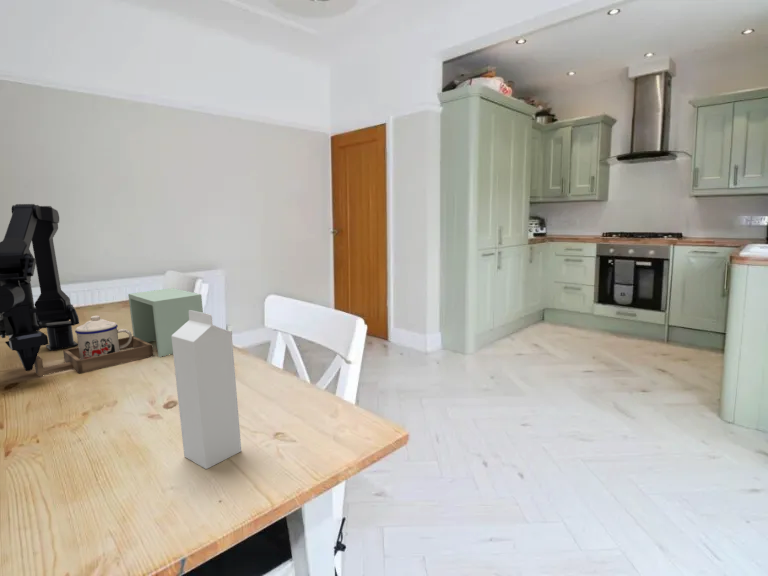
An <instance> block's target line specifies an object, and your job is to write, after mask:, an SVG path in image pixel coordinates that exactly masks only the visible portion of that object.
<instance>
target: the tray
mask: <svg viewBox="0 0 768 576" xmlns="http://www.w3.org/2000/svg"><path fill="white" fill-rule="evenodd" d="M128 339H129V336H127V337H121V338H118V341H119V346H120V345H124V344H126V343H127V341H128ZM62 353H63V359H64V360H63V361H64V362H63V363H58V364H54V365H50V366H49V365H48V366H45V367H44V360H43V358H41V357H40V356H39V355H37V357H36V360H35V363H34V366H33V367H34V371H35V374H36V373H37V374H38V375H39V376H41V377H44V376H43V375H45V374H47V375H50V374H49V373H51V374H54V372H55V373H59V371H60V372H64V371H68V370H72V369H73V370H74V371H75V372H76V373H77V374H82V373H87V372H92V371H96V370H101V369H103V368H108V367H113V366H116V365H121V364H126V363H130V362H135V361H139V360H143V359H146V358H147V359H148V358H151V356H152V357H154V356H155V355H154V346H153V344H152V343H150V342H145V341H143V340H141V339H139V338H137V337H135V336H133V335H132V340H131V342H130V344H129V345H128V346H127V347H124V348H121V349H120V351H119V352H114V353H110V354H105V355H100V356H96V357H91V358H87V359H82V360H80V354H79V347H77V346H75V347H72V348H71V347H70V348H65V349H63V350H62ZM63 370H64V371H63ZM37 374H36V375H37ZM38 375H37V376H38ZM39 376H38V377H39Z"/></svg>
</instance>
